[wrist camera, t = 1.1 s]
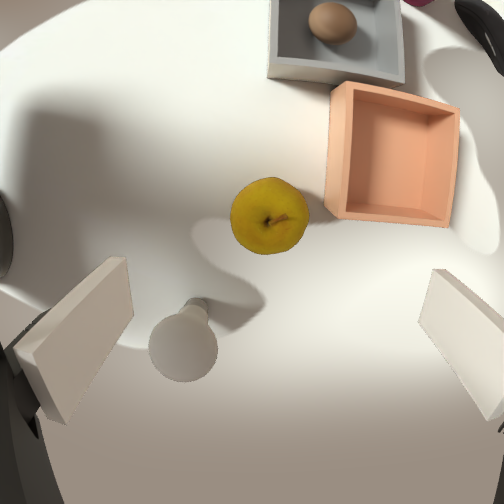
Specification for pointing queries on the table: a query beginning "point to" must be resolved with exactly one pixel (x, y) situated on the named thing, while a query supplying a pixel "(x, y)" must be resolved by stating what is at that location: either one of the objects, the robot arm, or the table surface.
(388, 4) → the grey square tray
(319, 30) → the brown ball
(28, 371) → the robot arm
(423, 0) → the cup
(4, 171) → the table surface
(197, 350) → the lightbulb
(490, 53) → the computer mouse
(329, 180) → the orange square tray
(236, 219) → the apple
